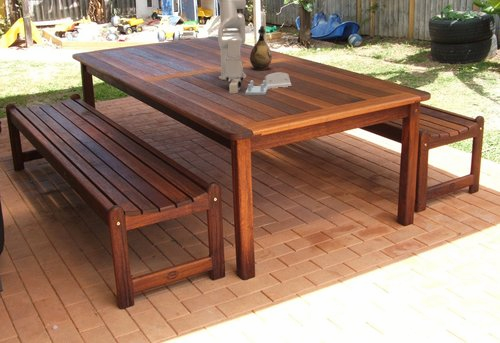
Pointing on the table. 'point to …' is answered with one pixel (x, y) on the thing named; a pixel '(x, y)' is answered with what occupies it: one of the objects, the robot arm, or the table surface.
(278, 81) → the white router
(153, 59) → the table surface
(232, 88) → the clay bar
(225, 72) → the robot arm
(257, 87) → the rack
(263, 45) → the ceramic jug
